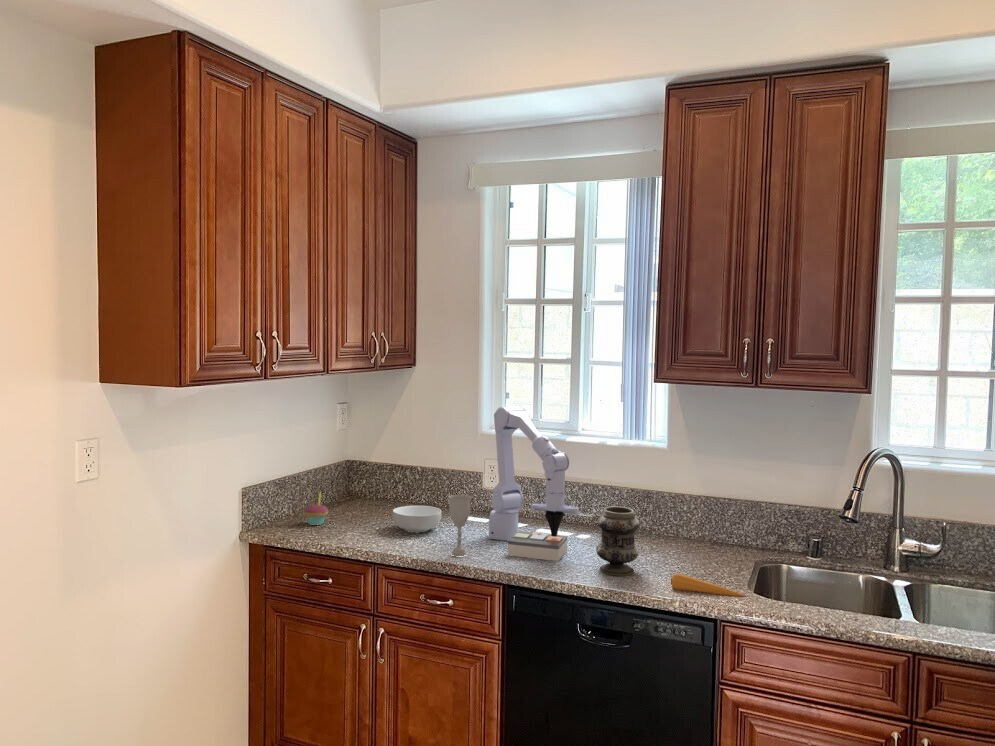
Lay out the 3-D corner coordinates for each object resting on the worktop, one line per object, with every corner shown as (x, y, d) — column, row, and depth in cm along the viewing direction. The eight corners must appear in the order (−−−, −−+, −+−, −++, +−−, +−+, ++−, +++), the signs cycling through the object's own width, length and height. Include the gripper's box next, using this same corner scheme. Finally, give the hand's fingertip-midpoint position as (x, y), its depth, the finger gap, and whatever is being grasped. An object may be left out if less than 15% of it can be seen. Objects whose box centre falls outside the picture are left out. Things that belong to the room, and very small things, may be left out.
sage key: (513, 543, 229) (513, 536, 229) (517, 540, 233) (517, 532, 233) (526, 544, 228) (526, 537, 228) (530, 541, 232) (530, 534, 232)
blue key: (529, 545, 228) (529, 537, 228) (533, 541, 232) (533, 534, 232) (542, 546, 226) (542, 539, 226) (546, 543, 230) (546, 535, 230)
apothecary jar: (638, 578, 206) (639, 515, 205) (594, 575, 208) (596, 512, 207) (637, 565, 218) (639, 505, 217) (596, 563, 220) (598, 503, 219)
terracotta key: (545, 547, 226) (546, 539, 226) (549, 543, 230) (549, 536, 230) (559, 548, 225) (559, 540, 225) (562, 544, 229) (562, 537, 229)
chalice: (474, 553, 227) (475, 495, 227) (466, 559, 221) (467, 500, 220) (452, 550, 230) (453, 493, 229) (443, 556, 223) (444, 498, 223)
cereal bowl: (450, 532, 251) (450, 512, 251) (406, 539, 242) (406, 518, 242) (426, 521, 265) (426, 502, 265) (384, 528, 256) (384, 507, 256)
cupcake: (317, 520, 265) (317, 487, 264) (333, 524, 260) (333, 490, 259) (298, 525, 258) (298, 491, 257) (314, 528, 253) (314, 494, 253)
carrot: (669, 592, 198) (670, 579, 196) (671, 581, 201) (673, 568, 199) (747, 609, 192) (749, 596, 190) (747, 597, 195) (750, 584, 193)
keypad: (507, 555, 226) (507, 540, 226) (518, 545, 237) (518, 530, 237) (558, 560, 221) (558, 545, 221) (567, 550, 232) (567, 535, 232)
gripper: (529, 492, 225) (528, 536, 226) (575, 496, 221) (574, 541, 221) (535, 488, 232) (534, 530, 232) (580, 491, 227) (579, 535, 228)
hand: (554, 535), depth 227 cm, fingers closed
